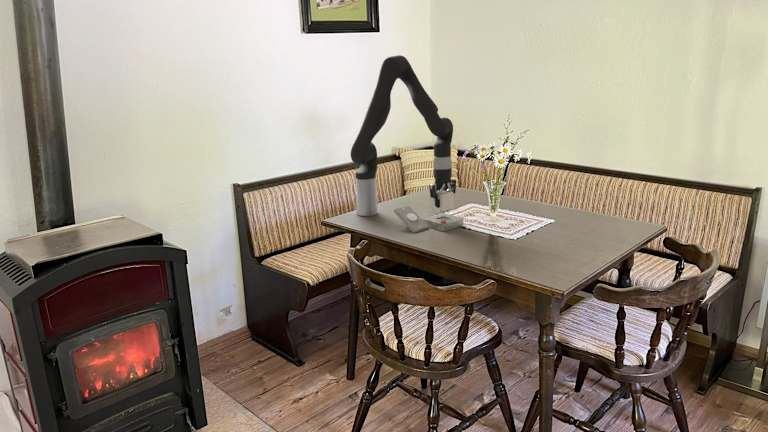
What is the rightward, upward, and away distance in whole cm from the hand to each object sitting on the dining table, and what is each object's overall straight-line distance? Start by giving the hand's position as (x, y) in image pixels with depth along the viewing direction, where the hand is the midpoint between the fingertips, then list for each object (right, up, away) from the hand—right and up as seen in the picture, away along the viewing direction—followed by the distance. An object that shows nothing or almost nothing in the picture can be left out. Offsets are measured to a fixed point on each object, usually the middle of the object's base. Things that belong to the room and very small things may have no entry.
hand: (443, 205), depth 247 cm
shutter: (0, -6, +2) cm, 7 cm away
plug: (0, -2, +1) cm, 3 cm away
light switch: (-13, -10, +1) cm, 17 cm away
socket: (0, -8, +3) cm, 9 cm away
